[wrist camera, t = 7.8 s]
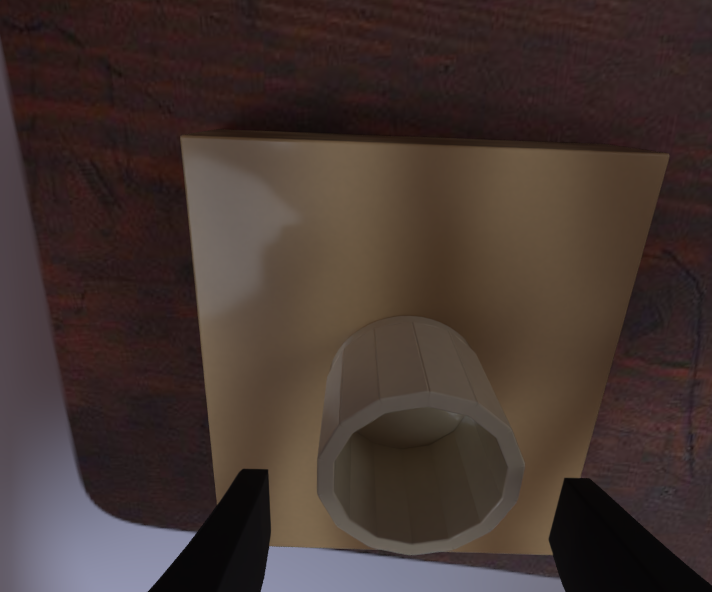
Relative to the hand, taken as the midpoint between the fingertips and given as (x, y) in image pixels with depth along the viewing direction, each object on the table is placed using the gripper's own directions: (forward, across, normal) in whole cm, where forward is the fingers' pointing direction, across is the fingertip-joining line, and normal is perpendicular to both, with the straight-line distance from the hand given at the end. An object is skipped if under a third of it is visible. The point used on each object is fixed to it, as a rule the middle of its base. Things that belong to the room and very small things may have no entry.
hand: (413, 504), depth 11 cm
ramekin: (+5, 0, 0) cm, 5 cm away
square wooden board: (+9, 0, 0) cm, 9 cm away
